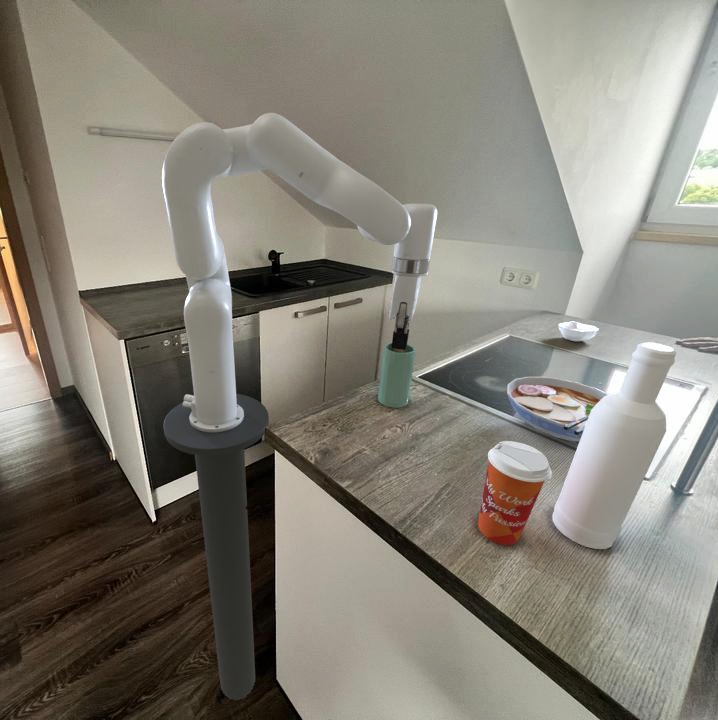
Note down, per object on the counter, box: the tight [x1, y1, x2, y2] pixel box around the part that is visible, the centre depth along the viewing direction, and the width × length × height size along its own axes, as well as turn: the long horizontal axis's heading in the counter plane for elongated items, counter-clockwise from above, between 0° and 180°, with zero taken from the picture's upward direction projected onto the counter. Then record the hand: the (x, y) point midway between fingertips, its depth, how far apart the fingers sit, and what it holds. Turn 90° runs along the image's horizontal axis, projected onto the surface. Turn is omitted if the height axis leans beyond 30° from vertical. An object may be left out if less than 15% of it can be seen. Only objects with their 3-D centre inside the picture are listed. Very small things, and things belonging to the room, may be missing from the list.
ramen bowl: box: [506, 376, 610, 443], centre depth 82 cm, size 25×23×8 cm
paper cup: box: [477, 440, 553, 546], centre depth 56 cm, size 8×8×14 cm
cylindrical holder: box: [377, 341, 417, 409], centre depth 93 cm, size 7×7×14 cm
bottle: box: [552, 341, 677, 550], centre depth 53 cm, size 8×8×30 cm
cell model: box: [557, 320, 599, 342], centre depth 134 cm, size 10×12×7 cm
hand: (399, 346), depth 90 cm, fingers closed
